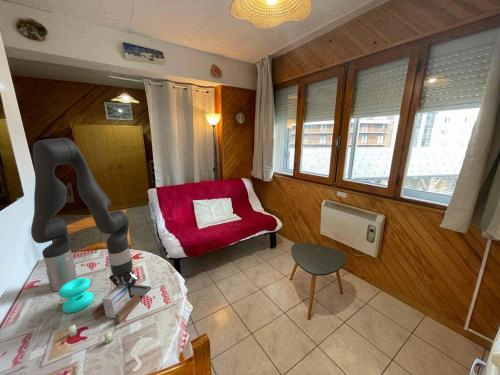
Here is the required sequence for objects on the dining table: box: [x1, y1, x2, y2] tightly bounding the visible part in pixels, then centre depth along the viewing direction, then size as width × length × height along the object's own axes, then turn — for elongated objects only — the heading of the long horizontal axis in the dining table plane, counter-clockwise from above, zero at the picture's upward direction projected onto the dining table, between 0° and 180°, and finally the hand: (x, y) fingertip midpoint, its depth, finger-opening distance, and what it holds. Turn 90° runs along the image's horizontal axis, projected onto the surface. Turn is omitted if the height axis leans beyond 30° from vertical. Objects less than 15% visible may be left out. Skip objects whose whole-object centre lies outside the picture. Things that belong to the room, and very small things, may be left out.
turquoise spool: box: [57, 277, 95, 314], centre depth 83 cm, size 10×10×10 cm
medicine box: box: [101, 285, 131, 319], centre depth 80 cm, size 8×4×9 cm, turn 170°
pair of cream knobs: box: [67, 324, 114, 345], centre depth 69 cm, size 17×2×3 cm, turn 79°
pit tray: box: [129, 283, 152, 299], centre depth 91 cm, size 10×6×1 cm, turn 79°
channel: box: [92, 293, 142, 324], centre depth 81 cm, size 11×11×4 cm
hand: (127, 295), depth 85 cm, fingers closed
